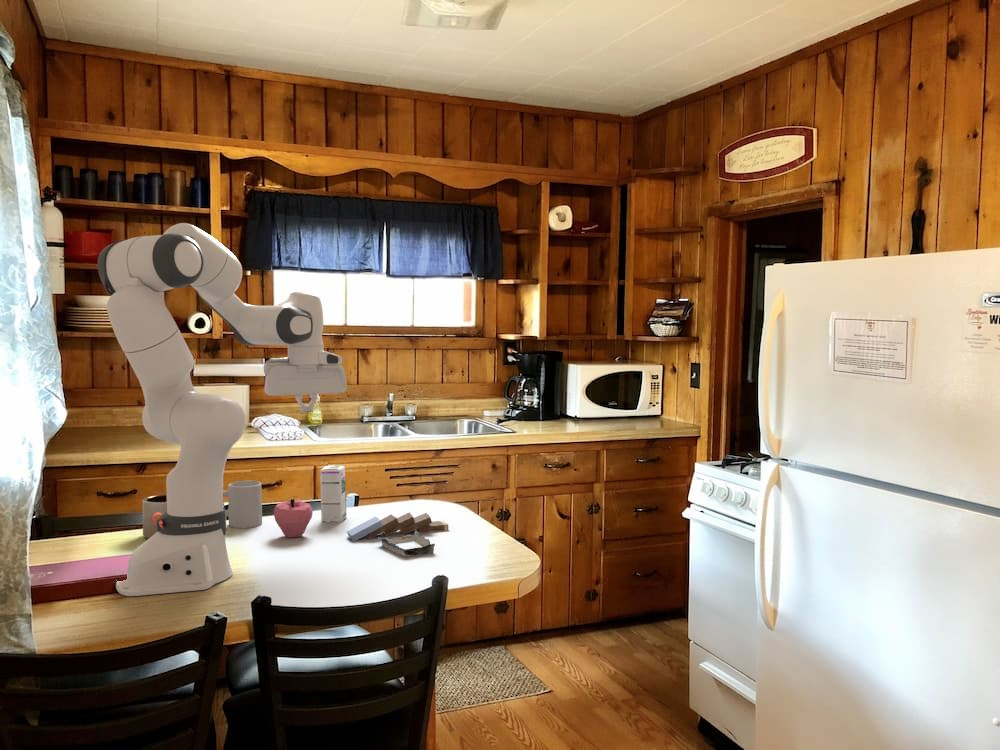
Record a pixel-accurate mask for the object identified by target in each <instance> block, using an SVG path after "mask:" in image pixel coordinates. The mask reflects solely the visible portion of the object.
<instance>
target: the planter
mask: <svg viewBox="0 0 1000 750" xmlns="http://www.w3.org/2000/svg"><path fill="white" fill-rule="evenodd" d="M166 512H167V493H163V494H162V493H161V494H155V495H149V496H147V497H144V498H142V536H143V537H144V538H145V539H147V540H148V539H149V538H150V537H152V536H153V535H154V534H155V533H156V532H158V531H157V523H155V522H154V521H153V518H152V517H153V515H154V514H155V513H161V514H162V515H163V514H164V513H166Z"/></svg>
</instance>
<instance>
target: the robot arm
mask: <svg viewBox="0 0 1000 750" xmlns="http://www.w3.org/2000/svg"><path fill="white" fill-rule="evenodd" d="M97 271H98V276H99V278H100V281H101V283H102V284H103V288H104V289H105V292H107V294H108V295H109V298H108V299H107V302H106V311H107V312H106V313H107V315H108V319H109V322H110V325H111V328H112V330H113V333H114V336H115V337H116V340H117V342H118V344H119V346H120V347H121V349H122V351H123V353H124V355H125V357H126V359H127V360H128V361H127V362H129V364H130V367H131V368H132V370H133V372H134V374H135V376H136V378H137V379H138V381H139V385H140V387H141V390H142V393H143V398H144V403H145V405H144V407H143V410H142V412H141V413H142V414H141V422H142V424H143V427H144V429H145V431H146V433H148V434H150V435H151V436H152V437H154V438H155V439H158V440H160V441H162V442H165V443H169V444H175V445H180V449H179V450H180V451H179V455H178V458H177V462H176V463H175V466H174V467H173V468H172V469H171V470H170V471H169V472H168V474H167V475H166V482H165V483H166V485H165V486H166V489H165V490H166V494H167V512H166V513H164V514H163V515H162V514H161V513H155V514H154V515H153V517H152V518H153V521H154V522H155V523H157V531H158V532H156V533H155V534H154V535H153V536H152V537H150V538H149V539H147V540H146V541H144V542H143V543H142V544H141V545H139V546H138V547H136V548H135V549H134V550H133V552H132V553H131V555H130V558H129V559H128V565H127V571H126V573H127V579H126V580H123V581H117V580H116V581H117V582H116V581H115V589H116V591H117V592H118V593H119V594H120V595H123V596H126V597H138V596H148V595H159V594H169V593H171V594H173V593H182V592H193V591H203V590H209V588H211V587H212V586H214V585H216V584H218V583H221V582H223V581H225V580H228V579H229V578H230V577H231V576H232V575H233V573H234V572H233V570H232V566H231V564H230V563H231V562H230V559H229V556H228V549H227V544H226V531H227V517H226V513H225V511H226V509H225V508H224V497H223V491H224V472H225V468H226V467H225V466H226V462H227V459H228V456H229V454H230V451H231V449H232V448H233V446H234V445H235V444H236V443H237V442H238V441H239V440H240V439H241V437H242V436H243V435H244V433H245V430H246V425H247V423H246V422H247V419H246V414H245V412H244V409H243V408H242V406H241V405H240V404H239V403H237V402H236V401H234V400H232V399H230V398H228V397H225V396H223V395H219V394H209V393H200V392H198V391H197V390H196V389H195V388H194V385H193V383H192V382H193V381H192V378H191V372H192V370H193V368H194V366H195V358H194V356H193V354H192V353H191V350H190V348H189V346H188V344H187V343H186V340H185V338H184V337H183V334H182V332H181V330H180V328H179V327H178V325H177V323H176V321H175V319H174V317H173V315H172V314H171V313H170V310H169V309H168V307H167V306H166V302H165V291H168V290H172V289H181V288H185V287H188V286H191V287H192V288H193V289H194V290H195V291H196V293H197V295H198V296H199V298H200V299H201V300H202V301H203V302H204V303H205V305H207V306H208V307H209V308H210V309H211V310H212V311H213V312H214V313H215V314H216V315H218V317H220V318H221V320H223V321H224V322H225V323H226V324H227V326H228V327H229V328H230V329H231V331H232V332H233V334H234V336H235V338H236V339H237V340H238V341H239V342H240V344H242V345H244V346H246V347H256V346H257V347H258V346H287V357H279V358H275V357H272V358H269V359H268V360H266V361H265V363H264V364H263V372H264V375H265V379H264V393H265V394H266V395H268V396H269V397H270V396H271V397H272V396H273V397H274V396H275V397H276V396H295V397H294V398H295V400H296V402H297V403H298V405H299V410H300V413H301V414H303V413H314V406H315V403H317V400H318V395H319V394H320V395H321V394H323V395H325V394H342V393H345V392H346V390H347V389H348V384H347V383H348V382H347V373H346V370H345V368H344V366H343V365H341V364H342V363H343V357H342V356H341V355H338V354H335V353H332V352H330V351H325V350H324V349H325V348H324V346H325V345H324V341H323V331H324V311H323V305H322V301H321V298H320V297H319V296H318V295H316V294H315V293H314V294H313V293H310V292H303V291H295V292H291V293H290V294H289V296H288V298H287V299H285V301H283V302H281V303H279V304H277V305H254V304H253V305H252V304H248V303H246V302H243V300H242V299H240V298H239V297H238V296H237V294H235V292H236V291H237V290H238V288H239V287H240V285H241V283H242V278H243V267H242V264H241V262H240V261H239V259H238V258H237V257H236V255H234V253H233V252H232V251H230V249H228V248H227V247H226V246H224V245H223V243H221V242H219V241H218V239H216V238H214V236H212V235H211V234H208V233H207V232H205V231H204V230H202V229H201V228H199V227H197V226H196V225H195V226H194V224H190V223H186V222H181V223H176V224H174V225H172V226H170V227H169V228H168V229H166V230H165V232H163V233H162V235H161V234H157V235H141V236H136V237H131V238H129V239H125V240H118V241H115V242H112V243H110V244H109V245H107V246H105V247H104V248H103V249H102V250H101V251H100V252H99V254H98V258H97ZM304 395H309V398H310V401H309V403H308V404H304V403H303V401H302V400H303V399H304Z"/></svg>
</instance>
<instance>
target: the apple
mask: <svg viewBox="0 0 1000 750" xmlns="http://www.w3.org/2000/svg"><path fill="white" fill-rule="evenodd" d="M273 516H274V520H275V522H276V524H277V526H278V527H279V528H280V530H281V532H282V534H283V535H284V536H285V537H288V538H299V537H302V536H303V535H304V534H305V531H306V529H307V527H308V525H309V523H310V522H311V520H312V517H313V508H312V505H311V504H310V503H307V502H304V501H303V500H297V499H293V498H291V499H290V500H287V501H282V502H279V503H277V504H276V505H275V507H274V509H273Z"/></svg>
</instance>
